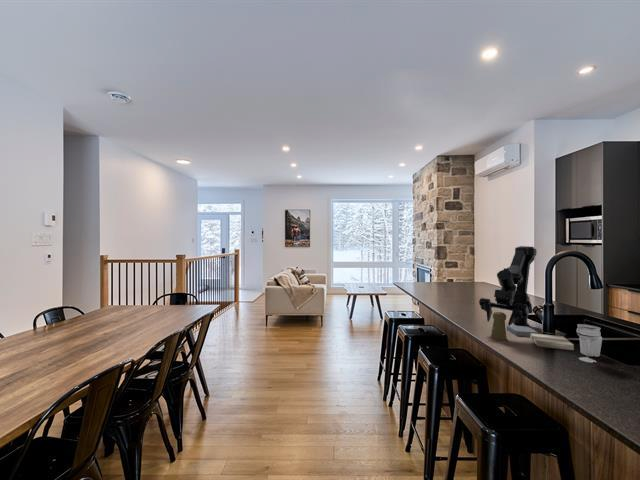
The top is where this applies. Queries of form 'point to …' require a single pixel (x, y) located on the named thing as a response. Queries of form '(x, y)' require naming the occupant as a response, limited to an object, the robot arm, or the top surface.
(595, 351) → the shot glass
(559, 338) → the maple slab
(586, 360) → the wineglass
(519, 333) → the blue grey block
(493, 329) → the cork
